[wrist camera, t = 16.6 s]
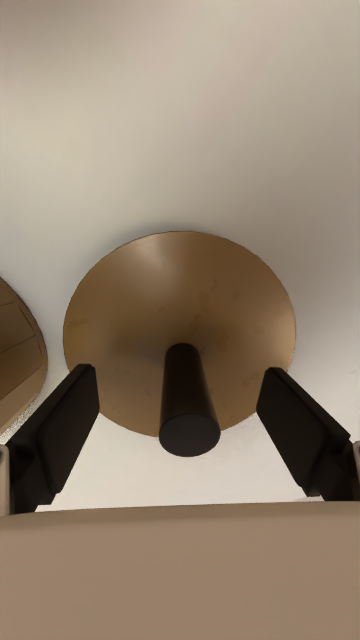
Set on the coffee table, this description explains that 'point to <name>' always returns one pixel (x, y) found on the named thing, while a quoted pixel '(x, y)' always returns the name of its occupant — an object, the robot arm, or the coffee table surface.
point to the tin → (18, 357)
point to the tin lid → (180, 335)
